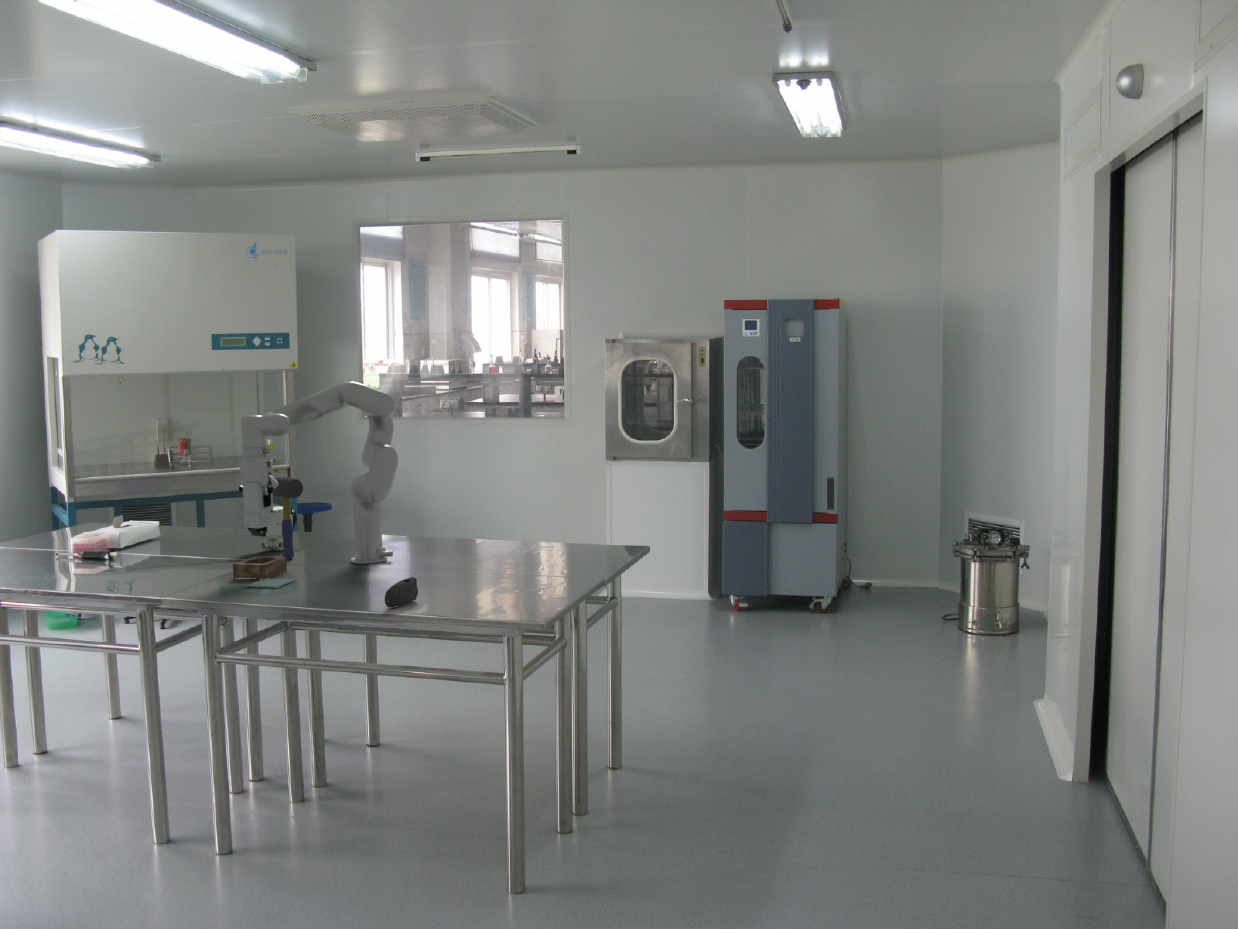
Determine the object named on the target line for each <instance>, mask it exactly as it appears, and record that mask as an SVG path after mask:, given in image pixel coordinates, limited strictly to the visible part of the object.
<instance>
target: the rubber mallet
mask: <svg viewBox="0 0 1238 929" xmlns="http://www.w3.org/2000/svg"><path fill="white" fill-rule="evenodd" d="M274 478H275V479H276V480H277V481H278V482H279V485H278V486H277V487H276V488H275V490H274V491H273V492H272V494H273V496H274V497H277V498H282V499H281V500H282V506H283V521H282V534H281V536H282V537H281V538H283V551H282V557H286V561H289V559H291V560H293V558H294V557H295V552H294V544H293V543H294V540H293V537H294V528H293V527H292V521H291V515H290V507H291V502H290V501H291V499H294V498H298V497H300V496H301V495H302V494H303V491H304V486H303V483H302V481H301V480H300V479H298V478H294V477H287V476H277V477H276V476H275V477H274Z"/></svg>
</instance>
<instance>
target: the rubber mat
mask: <svg viewBox="0 0 1238 929" xmlns="http://www.w3.org/2000/svg"><path fill="white" fill-rule="evenodd" d="M293 581H295V582H296V579H293V578H291V579H290V578H289V579H288V578H270V579H262V580H256V581H254V582H252V583H250V584H247V585H245V588H246V587H280V586H282V585H285V584H287V583H289V582H292V583H294V582H293ZM285 586H286V585H285Z"/></svg>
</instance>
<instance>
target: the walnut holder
mask: <svg viewBox="0 0 1238 929" xmlns="http://www.w3.org/2000/svg"><path fill="white" fill-rule="evenodd" d="M287 570H288V569H287V560H286V557H283V556H252V557H249V558H247V559H244V560H241V561H239V562H235V563H232V572H233V573H232V575H233V579H234V578H252V579H253V578H256V579H267V578H270V579H272V578H274V577H273V576H275V575H277V576H279V574H280V575H282V574H284V573H283V572H285V573H287V572H288V571H287ZM281 573H282V574H281ZM271 577H272V578H271ZM275 577H276V576H275Z"/></svg>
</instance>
